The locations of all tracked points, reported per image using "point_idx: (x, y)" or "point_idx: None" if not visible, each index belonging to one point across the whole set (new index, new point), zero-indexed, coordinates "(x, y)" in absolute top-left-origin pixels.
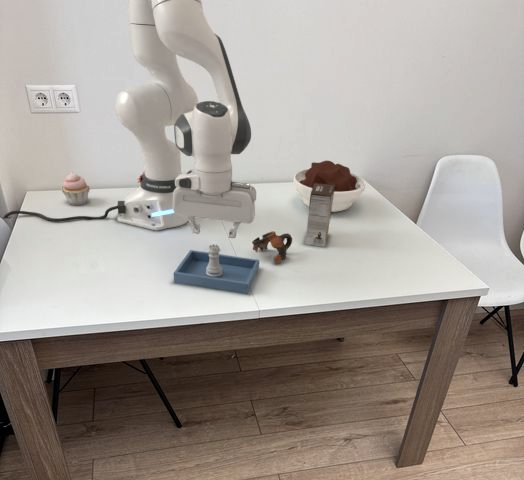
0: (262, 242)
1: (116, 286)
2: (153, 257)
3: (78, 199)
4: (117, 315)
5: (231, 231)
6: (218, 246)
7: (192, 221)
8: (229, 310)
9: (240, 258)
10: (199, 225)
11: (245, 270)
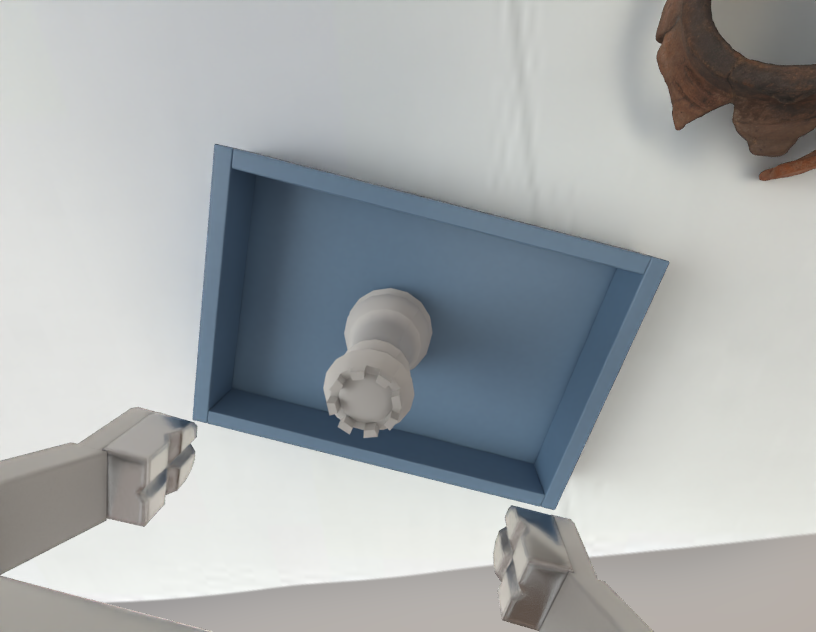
0: (785, 101)
1: (11, 417)
2: (42, 136)
3: None
4: (102, 574)
5: (531, 620)
6: (398, 406)
7: (12, 548)
8: (459, 562)
9: (546, 248)
10: (143, 474)
11: (557, 283)
